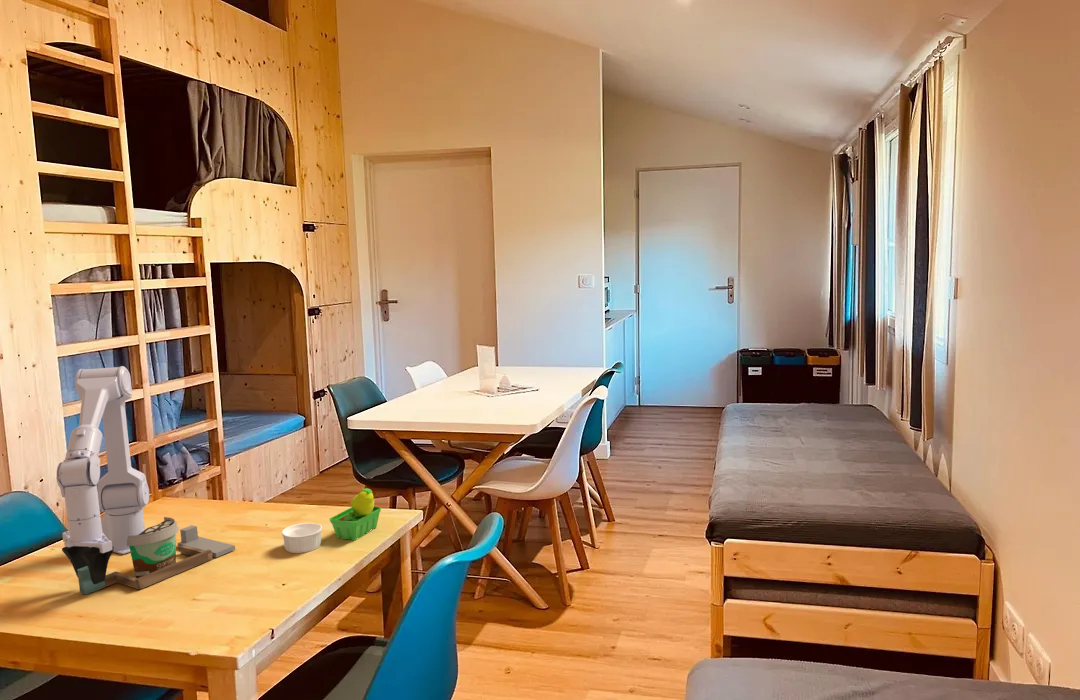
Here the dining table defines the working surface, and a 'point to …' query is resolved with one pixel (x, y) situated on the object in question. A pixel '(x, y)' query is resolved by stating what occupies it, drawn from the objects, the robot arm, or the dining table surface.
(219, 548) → the grey l-shaped block
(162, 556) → the food container
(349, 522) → the fruit basket
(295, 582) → the dining table surface
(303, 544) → the ramekin
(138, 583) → the walnut sled
